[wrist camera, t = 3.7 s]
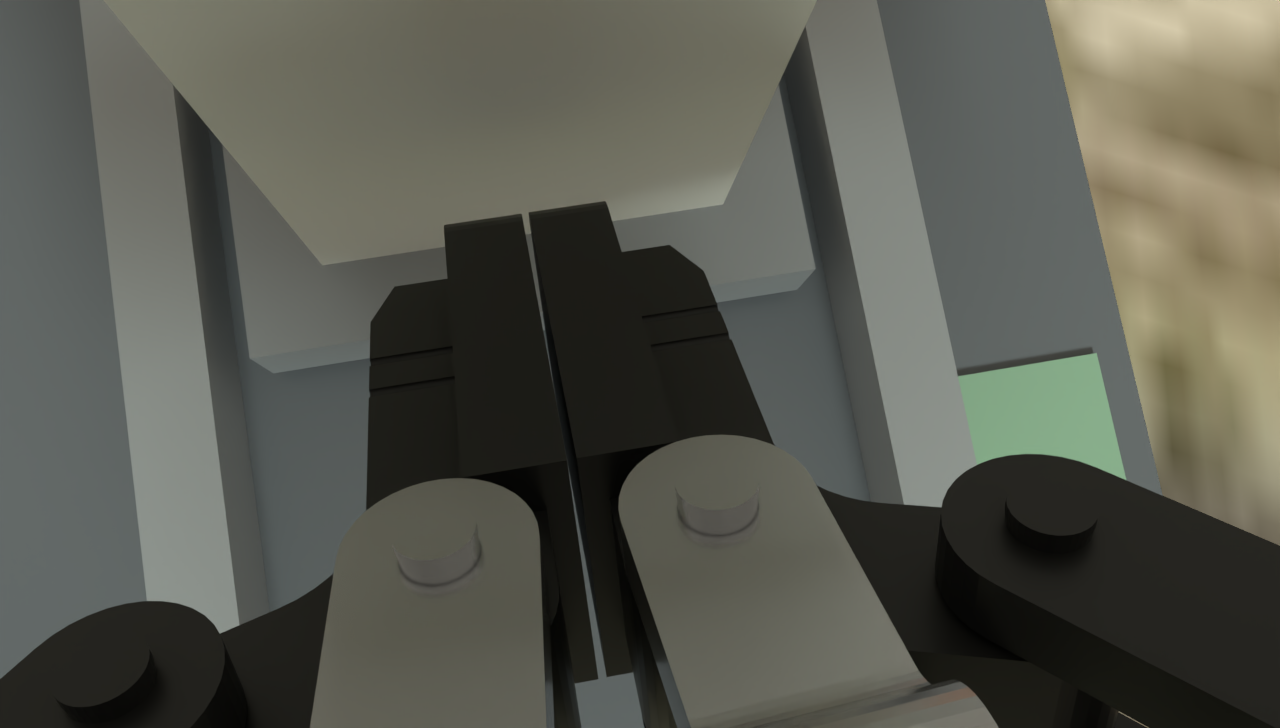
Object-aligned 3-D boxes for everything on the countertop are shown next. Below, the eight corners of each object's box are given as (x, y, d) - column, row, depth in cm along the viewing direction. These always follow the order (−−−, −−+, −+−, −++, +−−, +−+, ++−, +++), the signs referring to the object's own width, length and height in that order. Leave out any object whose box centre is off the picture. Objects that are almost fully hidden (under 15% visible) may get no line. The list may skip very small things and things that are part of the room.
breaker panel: (39, 874, 17) (-99, 959, 13) (-67, -236, 19) (-208, -411, 16) (1134, 662, 18) (1271, 688, 15) (903, -344, 20) (972, -527, 17)
